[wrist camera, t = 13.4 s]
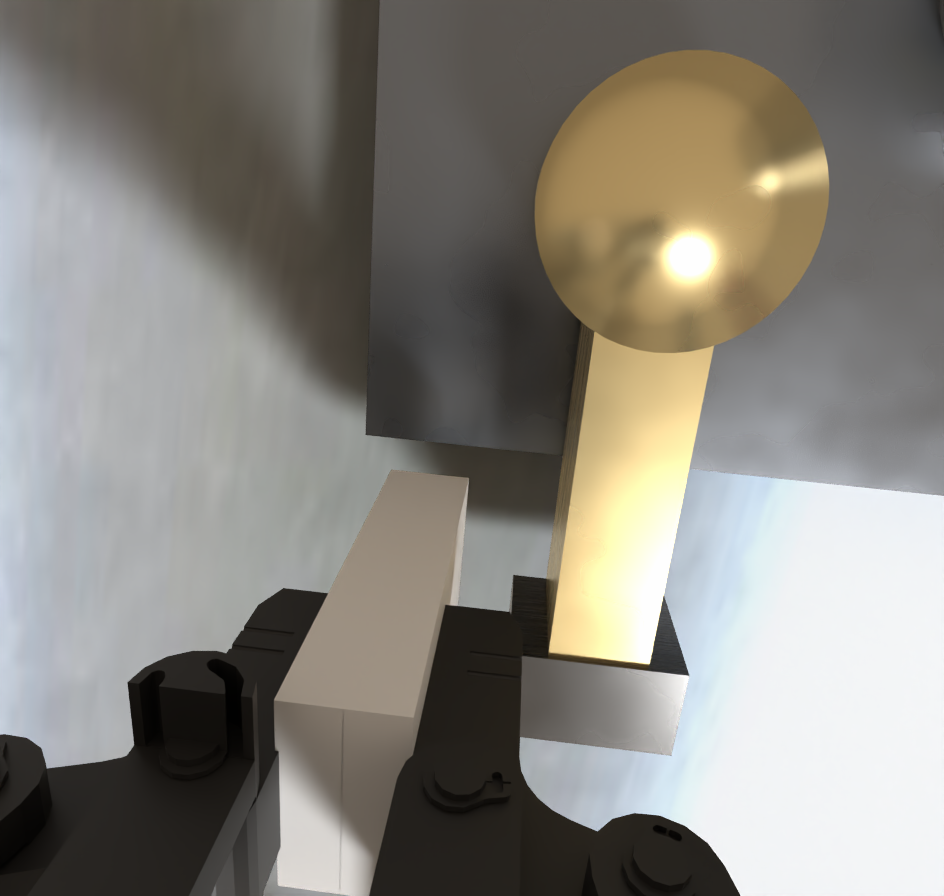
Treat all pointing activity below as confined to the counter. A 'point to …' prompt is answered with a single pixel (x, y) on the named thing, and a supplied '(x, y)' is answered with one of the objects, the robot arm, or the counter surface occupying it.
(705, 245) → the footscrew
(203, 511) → the counter surface
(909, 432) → the levelling base
